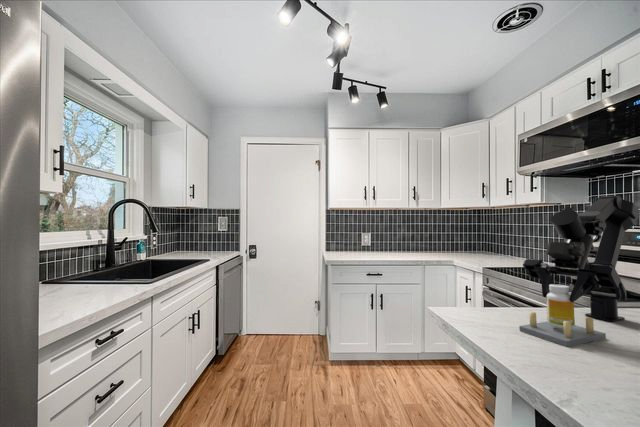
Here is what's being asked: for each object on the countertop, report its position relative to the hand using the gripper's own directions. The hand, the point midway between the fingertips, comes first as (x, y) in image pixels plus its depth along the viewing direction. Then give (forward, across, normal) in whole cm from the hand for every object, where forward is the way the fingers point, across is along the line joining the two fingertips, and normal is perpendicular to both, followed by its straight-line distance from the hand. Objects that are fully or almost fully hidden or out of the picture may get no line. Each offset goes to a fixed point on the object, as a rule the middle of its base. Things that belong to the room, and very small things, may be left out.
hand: (557, 298), depth 74 cm
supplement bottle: (+4, 0, +6) cm, 7 cm away
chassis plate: (+6, 0, +7) cm, 9 cm away
